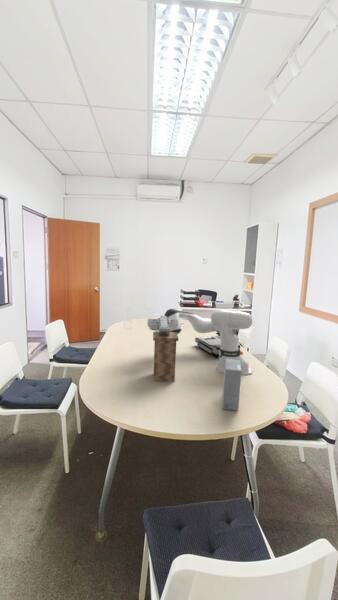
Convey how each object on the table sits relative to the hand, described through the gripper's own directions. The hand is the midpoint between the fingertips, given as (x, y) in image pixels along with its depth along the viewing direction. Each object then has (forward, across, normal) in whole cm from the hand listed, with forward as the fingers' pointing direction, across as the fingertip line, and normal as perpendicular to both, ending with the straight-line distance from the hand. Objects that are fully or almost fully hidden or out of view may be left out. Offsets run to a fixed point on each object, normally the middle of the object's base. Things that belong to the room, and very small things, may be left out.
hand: (163, 319), depth 177 cm
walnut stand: (-2, -1, -36) cm, 36 cm away
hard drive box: (+22, -33, -50) cm, 64 cm away
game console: (-48, -44, -10) cm, 66 cm away
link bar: (+4, 0, -7) cm, 8 cm away
